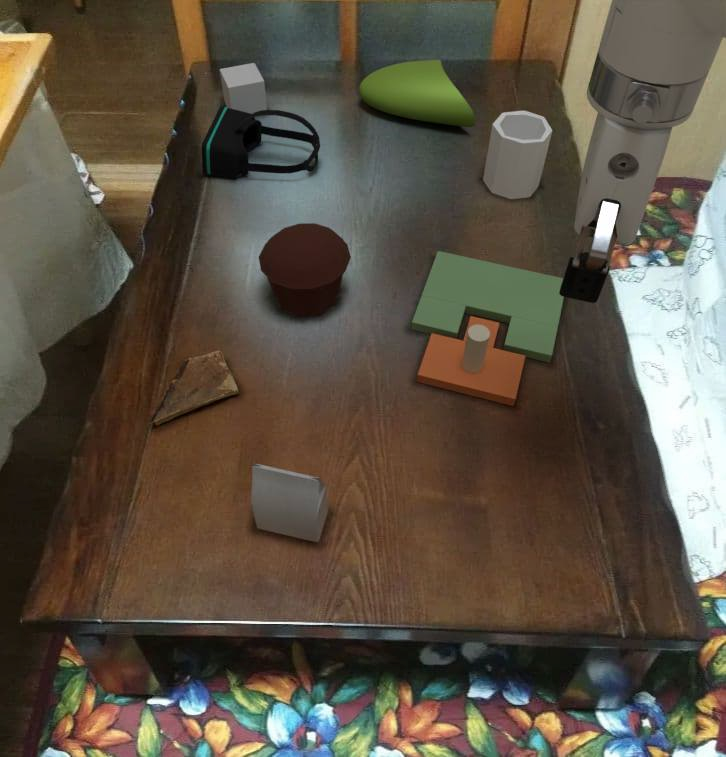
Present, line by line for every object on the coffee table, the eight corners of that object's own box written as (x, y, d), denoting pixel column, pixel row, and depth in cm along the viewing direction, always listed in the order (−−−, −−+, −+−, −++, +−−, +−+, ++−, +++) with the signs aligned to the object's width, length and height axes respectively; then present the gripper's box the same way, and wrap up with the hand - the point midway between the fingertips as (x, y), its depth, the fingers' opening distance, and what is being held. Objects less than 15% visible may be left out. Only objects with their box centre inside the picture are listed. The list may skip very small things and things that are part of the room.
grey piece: (318, 542, 77) (314, 496, 69) (257, 528, 78) (246, 481, 70) (327, 512, 79) (325, 464, 71) (268, 498, 80) (258, 449, 72)
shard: (152, 429, 85) (149, 420, 84) (135, 382, 89) (131, 373, 88) (240, 397, 88) (239, 388, 87) (220, 352, 92) (217, 343, 91)
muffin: (281, 335, 94) (274, 280, 86) (251, 279, 100) (242, 223, 92) (364, 307, 97) (365, 251, 89) (331, 254, 103) (329, 197, 95)
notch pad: (565, 286, 100) (567, 279, 99) (549, 363, 92) (552, 355, 91) (436, 258, 103) (437, 250, 102) (410, 329, 95) (411, 322, 94)
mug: (538, 202, 111) (552, 146, 103) (481, 195, 112) (490, 140, 104) (539, 155, 118) (552, 99, 110) (486, 149, 119) (495, 93, 111)
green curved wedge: (482, 48, 120) (361, 45, 123) (476, 102, 115) (350, 98, 118) (479, 86, 127) (366, 83, 130) (474, 139, 122) (355, 135, 125)
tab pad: (529, 337, 94) (541, 297, 88) (513, 406, 88) (525, 367, 82) (438, 316, 96) (444, 275, 90) (416, 382, 90) (421, 342, 84)
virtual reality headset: (222, 133, 120) (220, 78, 112) (323, 155, 120) (329, 101, 112) (202, 175, 113) (199, 119, 105) (309, 198, 113) (314, 144, 105)
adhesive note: (233, 121, 123) (228, 87, 118) (224, 101, 126) (219, 69, 121) (267, 113, 124) (264, 80, 119) (258, 95, 128) (254, 62, 123)
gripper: (696, 162, 46) (618, 339, 60) (703, 30, 56) (635, 208, 70) (576, 140, 47) (526, 318, 61) (604, 15, 57) (556, 192, 71)
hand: (584, 259), depth 65 cm, fingers open, 9 cm apart
